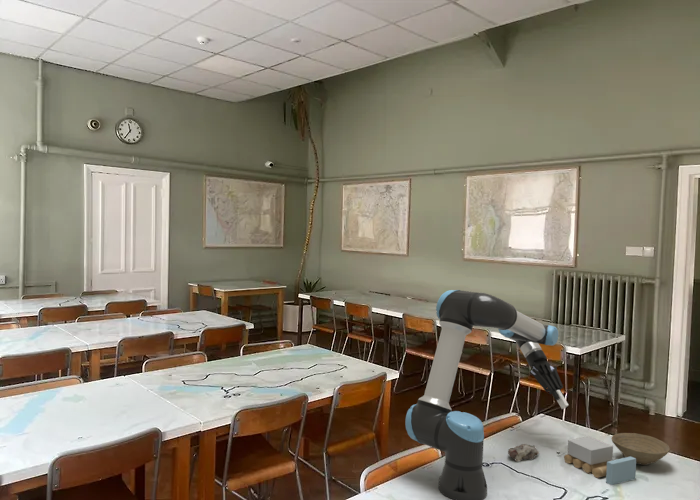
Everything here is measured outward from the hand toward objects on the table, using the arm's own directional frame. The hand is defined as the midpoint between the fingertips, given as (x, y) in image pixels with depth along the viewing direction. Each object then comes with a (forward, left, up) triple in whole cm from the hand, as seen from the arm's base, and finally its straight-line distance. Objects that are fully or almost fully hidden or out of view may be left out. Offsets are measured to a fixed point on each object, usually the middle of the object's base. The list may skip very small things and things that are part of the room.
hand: (565, 406), depth 195 cm
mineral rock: (-18, +3, -18) cm, 25 cm away
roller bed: (-1, -14, -18) cm, 22 cm away
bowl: (+19, -17, -18) cm, 31 cm away
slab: (-1, -12, -14) cm, 19 cm away
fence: (-1, -25, -18) cm, 30 cm away
